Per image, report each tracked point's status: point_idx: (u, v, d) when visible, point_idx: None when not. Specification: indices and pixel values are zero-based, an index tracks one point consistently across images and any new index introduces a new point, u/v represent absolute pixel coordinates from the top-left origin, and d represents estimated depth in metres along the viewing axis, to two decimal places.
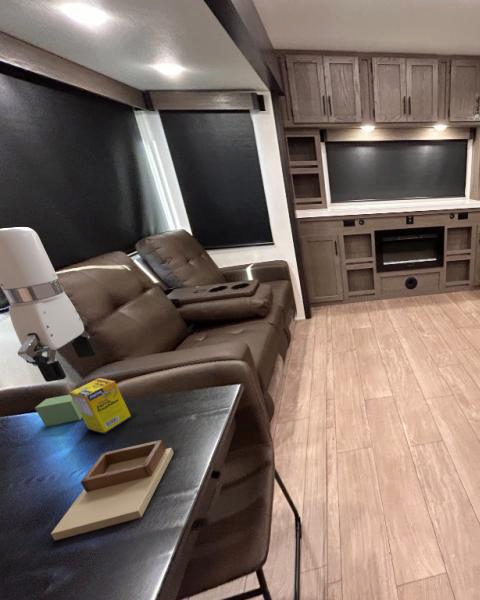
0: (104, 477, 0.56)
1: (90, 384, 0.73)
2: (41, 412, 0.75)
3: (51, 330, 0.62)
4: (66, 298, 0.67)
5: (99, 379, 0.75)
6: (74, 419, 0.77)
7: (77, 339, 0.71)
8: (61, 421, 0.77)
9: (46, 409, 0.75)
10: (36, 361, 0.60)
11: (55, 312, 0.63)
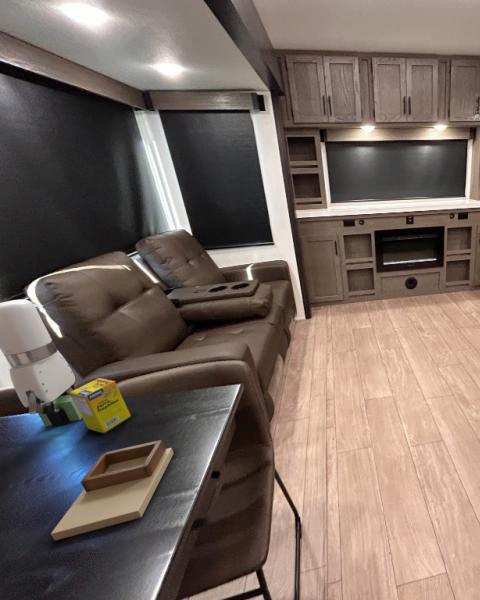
0: (104, 477, 0.56)
1: (90, 384, 0.73)
2: None
3: (46, 387, 0.72)
4: (59, 355, 0.76)
5: (99, 379, 0.75)
6: (74, 419, 0.77)
7: None
8: None
9: None
10: (45, 411, 0.73)
11: (50, 370, 0.73)
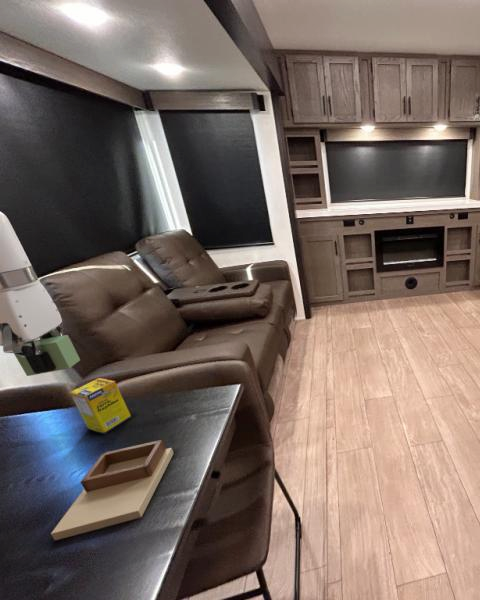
0: (104, 477, 0.56)
1: (90, 384, 0.73)
2: (19, 355, 0.61)
3: (24, 320, 0.58)
4: (41, 287, 0.63)
5: (99, 379, 0.75)
6: (61, 366, 0.64)
7: None
8: None
9: None
10: (24, 352, 0.59)
11: (29, 302, 0.59)
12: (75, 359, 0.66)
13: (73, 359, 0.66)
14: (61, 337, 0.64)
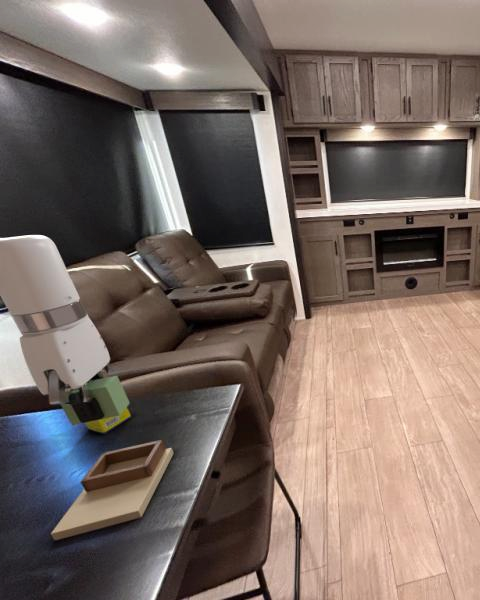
0: (104, 477, 0.56)
1: None
2: None
3: (73, 365, 0.49)
4: (89, 322, 0.54)
5: None
6: (111, 413, 0.55)
7: None
8: None
9: None
10: (71, 401, 0.50)
11: (78, 342, 0.50)
12: (125, 403, 0.57)
13: (123, 404, 0.57)
14: (110, 379, 0.55)
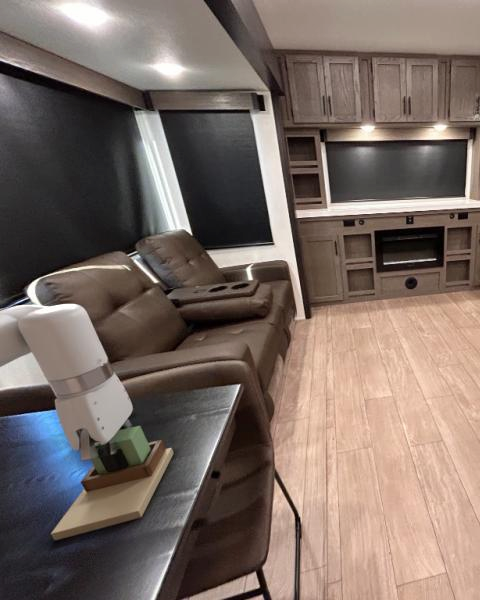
0: (104, 477, 0.56)
1: None
2: None
3: (102, 422, 0.53)
4: (115, 377, 0.57)
5: None
6: (134, 461, 0.58)
7: None
8: None
9: None
10: (100, 455, 0.54)
11: (106, 399, 0.54)
12: (147, 450, 0.61)
13: (145, 451, 0.60)
14: (134, 430, 0.59)
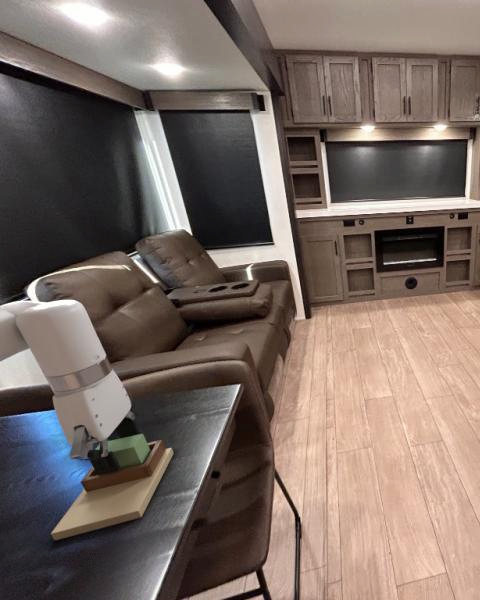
0: (104, 477, 0.56)
1: None
2: None
3: (100, 419, 0.52)
4: (113, 374, 0.57)
5: None
6: None
7: (121, 421, 0.61)
8: None
9: None
10: (90, 457, 0.52)
11: (104, 396, 0.54)
12: None
13: None
14: (137, 438, 0.60)
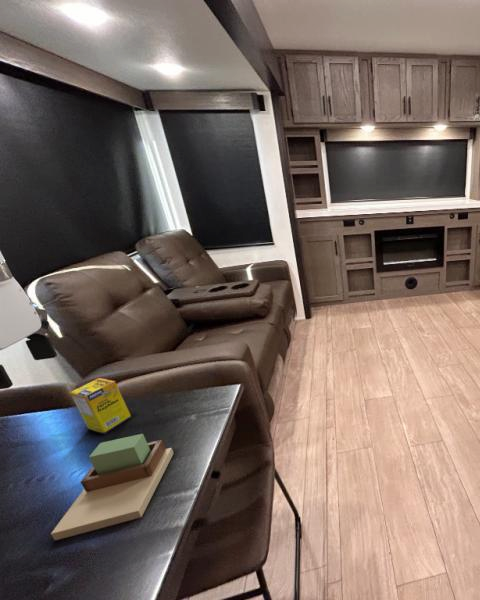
0: (104, 477, 0.56)
1: (90, 384, 0.73)
2: (96, 462, 0.57)
3: None
4: (17, 286, 0.53)
5: (99, 379, 0.75)
6: None
7: (33, 337, 0.58)
8: None
9: (103, 458, 0.57)
10: None
11: (0, 304, 0.50)
12: None
13: None
14: (137, 438, 0.60)
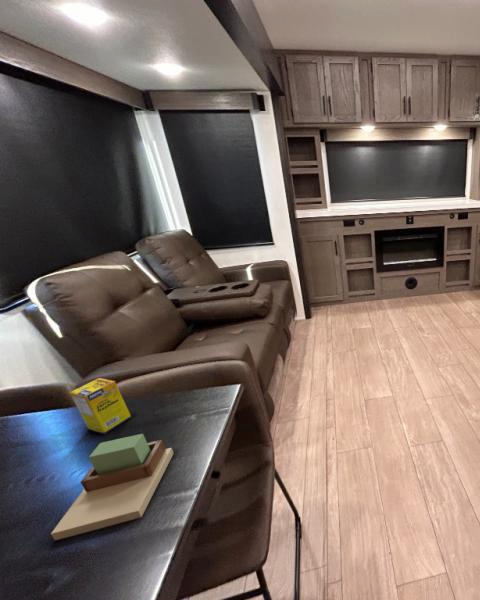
0: (104, 477, 0.56)
1: (90, 384, 0.73)
2: (96, 462, 0.57)
3: None
4: None
5: (99, 379, 0.75)
6: None
7: None
8: None
9: (103, 458, 0.57)
10: None
11: None
12: None
13: None
14: (137, 438, 0.60)
